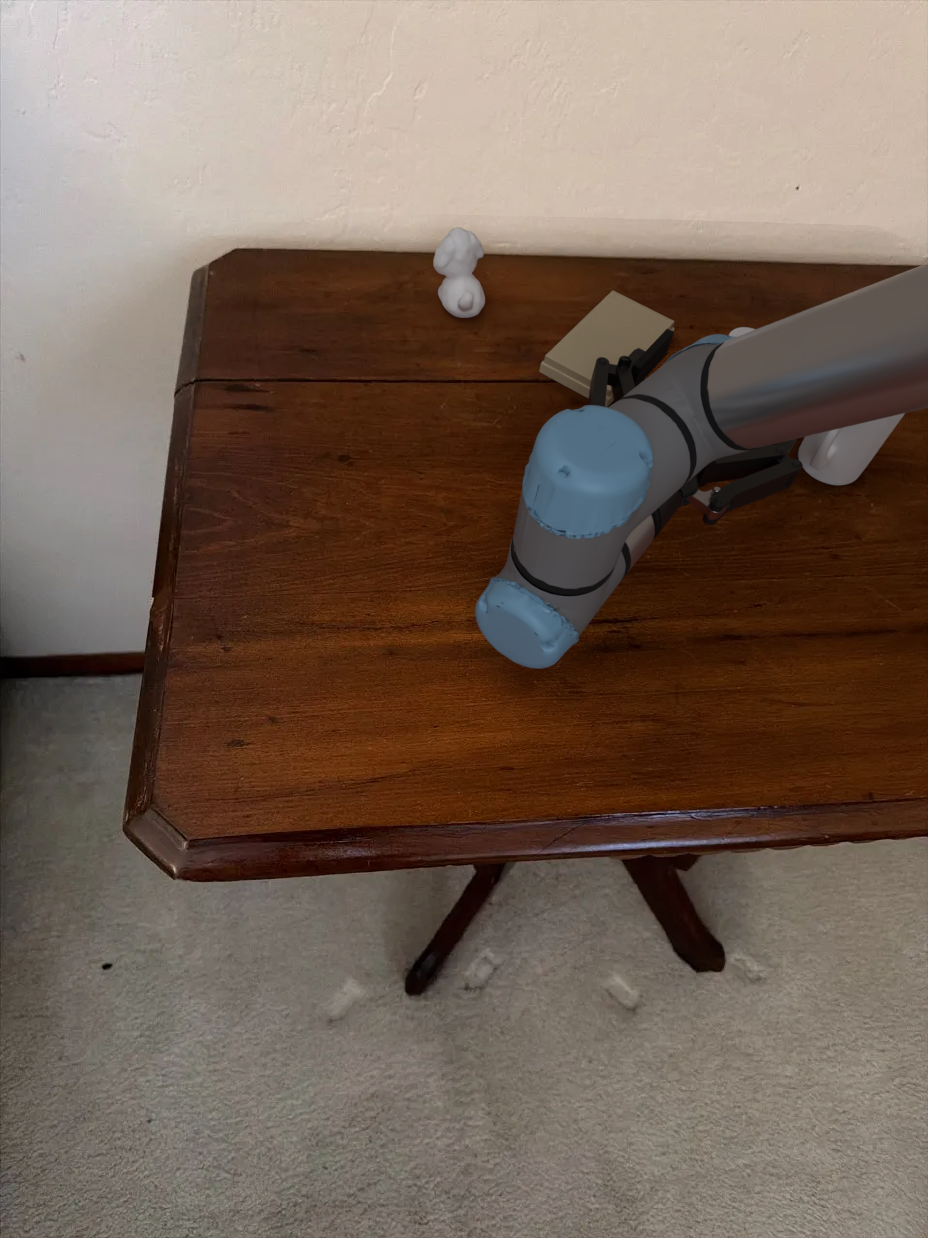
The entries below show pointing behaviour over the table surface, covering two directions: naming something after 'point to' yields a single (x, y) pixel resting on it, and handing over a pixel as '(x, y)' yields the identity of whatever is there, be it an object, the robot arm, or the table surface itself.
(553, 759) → the table surface
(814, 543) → the table surface
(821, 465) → the mug
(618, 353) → the beige stepped flat slab
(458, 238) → the figurine
